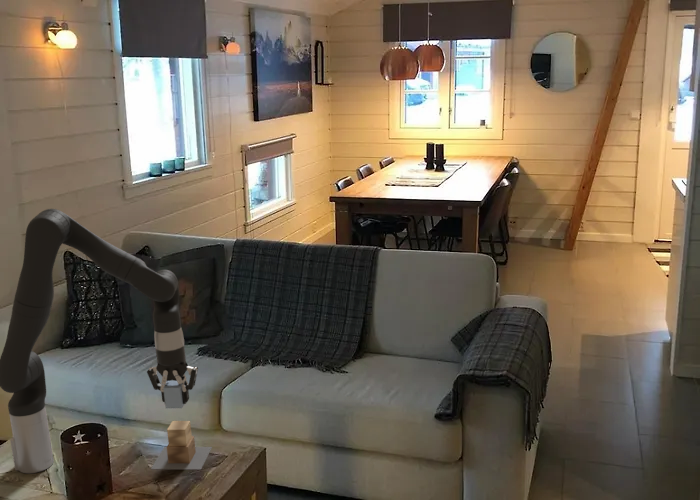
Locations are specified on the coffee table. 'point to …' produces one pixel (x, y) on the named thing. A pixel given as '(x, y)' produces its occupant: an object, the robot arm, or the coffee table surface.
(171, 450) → the walnut base block
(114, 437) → the coffee table surface
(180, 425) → the oak top block
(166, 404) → the light grey box block
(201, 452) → the felt mat
